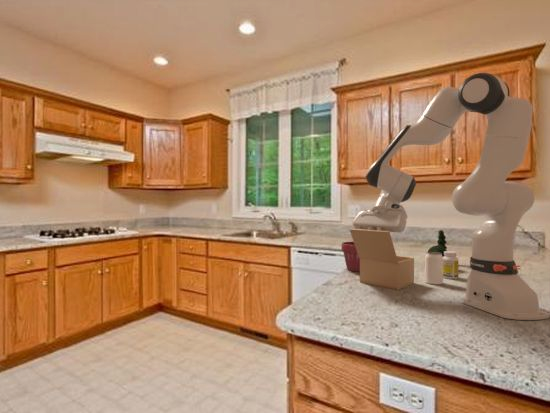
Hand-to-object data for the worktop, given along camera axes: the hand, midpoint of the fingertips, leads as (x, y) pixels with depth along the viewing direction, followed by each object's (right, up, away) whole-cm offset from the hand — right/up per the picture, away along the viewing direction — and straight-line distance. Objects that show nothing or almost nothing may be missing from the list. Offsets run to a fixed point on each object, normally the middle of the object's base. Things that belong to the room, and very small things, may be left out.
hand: (371, 237), depth 121 cm
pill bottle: (+39, -19, +17) cm, 46 cm away
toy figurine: (+46, -19, +41) cm, 64 cm away
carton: (+9, -19, +9) cm, 23 cm away
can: (+27, -19, +8) cm, 34 cm away
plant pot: (+3, -19, +34) cm, 39 cm away
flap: (+1, -3, +1) cm, 3 cm away
